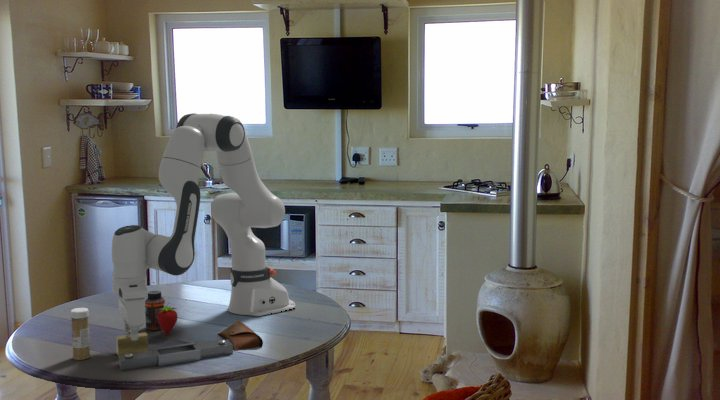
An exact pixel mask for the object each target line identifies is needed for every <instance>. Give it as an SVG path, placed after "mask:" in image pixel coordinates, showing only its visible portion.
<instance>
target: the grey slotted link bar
mask: <svg viewBox="0 0 720 400" xmlns="http://www.w3.org/2000/svg"><path fill="white" fill-rule="evenodd" d="M231 354H234V348H233V344H232V343H231V342H230V341H229V340H228V339H227V340H225V339H220V340H213V341H209V342H201V343H195V342H190V343H182V344H175V345H170V346H169V345H168V346H163V347H162V346H161V347H160V346H159V347H155V348H154V347H153V349H151V350H149V351H144V352H137V353H127V354H123V355H117V357H118V359H117V360H118V365H119V368H120V371H127V370H133V369H140V368H146V367H147V368H148V367H153V366H158V367H162V366H169V365H176V364H181V363H188V362H194V361H200V360H201V359H207V358H210V357H211V358H213V357H219V356H225V355H231Z"/></svg>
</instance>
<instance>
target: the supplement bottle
mask: <svg viewBox="0 0 720 400" xmlns="http://www.w3.org/2000/svg"><path fill="white" fill-rule="evenodd" d="M164 306H166V299H165V298H164V297H162V291H161V290H150V291H147V297H146V298H145V318H144V319H145V329H146V330H149V331H159V330H162V328H161V327H160V325H159V323H158V320H157V314H158V313H159V311H161V310H159V309H160V308H164Z"/></svg>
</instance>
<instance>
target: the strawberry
mask: <svg viewBox="0 0 720 400" xmlns="http://www.w3.org/2000/svg"><path fill="white" fill-rule="evenodd" d="M169 304H170V302H168V303H167V305H165V306H164V308H160V309H159V310H161V311H159V313H158V314H157V320H158V323H159V325H160V327H161V328H162V329H161V330H162V331H163V332H164V334H165V335H170V333H171V332H172V330H173V329H174V327H175V326H176V324H177V322H178V313H177V311H176V310H177V309H178V308H177V307H171V306H168V305H169Z"/></svg>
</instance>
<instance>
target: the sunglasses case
mask: <svg viewBox="0 0 720 400" xmlns="http://www.w3.org/2000/svg"><path fill="white" fill-rule="evenodd" d="M217 335H218V336H219V337H221V338H222V340H227V339H228V340H229V341H230V342H231V343H232V344H233V351H238V352H239V351H243V350H249V349H250V350H251V349H256V348H262V347H263V345H264V340H263V339H262V337H261V336H260V335H259V334H257V333H256V332H255V331H254V330H252V329H251V328H250V327H249V326H248V325H246V324H245V323H244V322H242V321H241V320H239V319H237V321H236V322H235V323H233V324H231V325H230V326H228V327H227V328H224V329H223V330H221V331H220V332H218V333H217Z"/></svg>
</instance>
